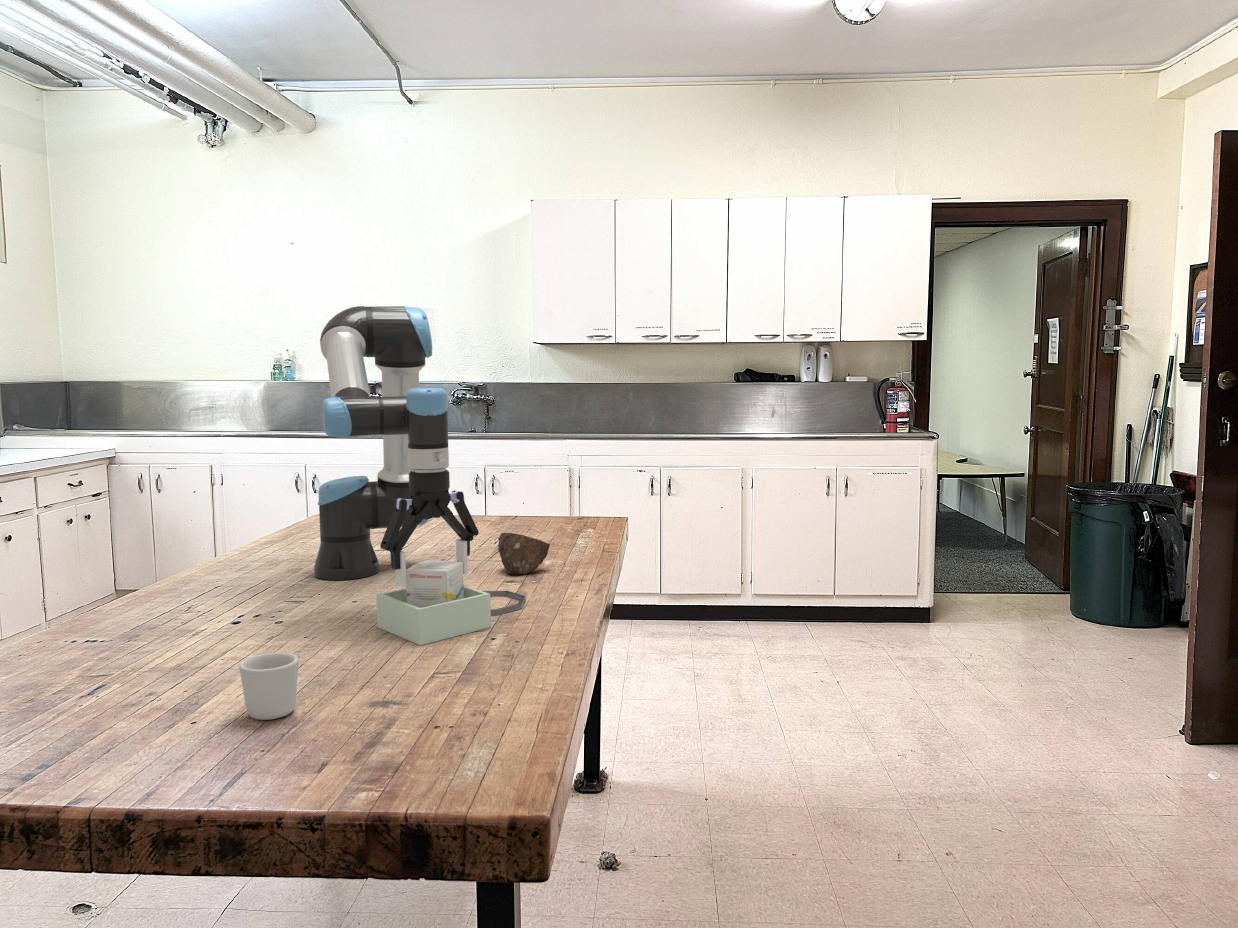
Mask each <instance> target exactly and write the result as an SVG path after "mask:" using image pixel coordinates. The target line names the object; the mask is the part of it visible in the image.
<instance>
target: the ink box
mask: <svg viewBox="0 0 1238 928" xmlns="http://www.w3.org/2000/svg"><path fill="white" fill-rule="evenodd" d="M464 586H465V584H464V574H463V562H457V561H451V560H450V561H448V560H432V559H431V560H429V559H424V560H422V561H420V562H417V563H415V564H413V565H411V566H410V567H408V568H406V587H405V588H406V593H407V603H408V604H411V605H413V606H416V607H419V608H423V607H428V606H432V605H437V604H441V603H446V602H450V601H455V600H459V599H464Z"/></svg>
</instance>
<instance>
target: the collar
mask: <svg viewBox="0 0 1238 928" xmlns="http://www.w3.org/2000/svg"><path fill="white" fill-rule="evenodd" d="M482 591H483V592H486V593H489V594H490V597H507V598H511V599H514V600H517V601H518V603H516V604H511V605H508V606H504V607H499V608H496V609H495V608H494V609H493V608H491V616H499V615H502V614H506V613H512V612H516V611H519V610H522V609H523V607H524V605H525V602H526V595H523V594H519V593H517V592H514V591H510V590H482Z"/></svg>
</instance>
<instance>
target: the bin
mask: <svg viewBox="0 0 1238 928" xmlns="http://www.w3.org/2000/svg"><path fill="white" fill-rule="evenodd" d="M483 591H484V590H480V589H475V588H473V587H471V586H466V585H464V599H459V600H455V601H450V602H446V603H441V604H437V605H432V606H428V607H423V608H419V607H416V606H413V605H411V604H408V603H407V593H406V587H403V588H400V589H395V590H390V591H384V592H380V593H376V594H375V596H376V614H377V615H376V616H377V617H376V618H377V619H376V620H377V628H379V629H380V630H384V631H385V632H388V633H390V634H393V635H395V636H397V637H399V638H401V639H404V640H407V641H408V642H409V641H410V642H411V643H413V644H416V645H419V646H422V645H427V644H432V643H435V642H439V641H443V640H446V639H451V638H453V637H454V638H455V637H458V636H462V635H465V634H466V635H467V634H470V633H474V632H478V631H481V630H482V631H483V630H486V629H489V628H492V615H491V609H492V608H491V607H492V606H491V603H492V601H491V596H490V594H489V593H486V592H483Z"/></svg>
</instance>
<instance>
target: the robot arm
mask: <svg viewBox="0 0 1238 928" xmlns="http://www.w3.org/2000/svg"><path fill="white" fill-rule="evenodd" d="M431 333H432V332H431V327H430V324H429V320H428V316H427V314H426V312H425V310H423V309H422V308H420V307H415V306H414V307H413V306H403V305H398V306H397V305H396V306H388V305H387V306H383V305H382V306H364V305H363V306H362V305H360V306H359V305H357V306H353V307H349V308H346V309H343V310H342V311H340V312H338V313H336V314H335V315H334V316H333V317H332V318H331V319H329V320H328V322H327V323H326V324H325V325H324V327H323V328H322V332H321V335H320V338H319V344H320V351H321V354H322V356H323V358H325V359H326V362H327V372H328V379H329V381H328V382H329V390H330V397H326V398H325V399H323V401H322V421H323V432H324V434H325V435H327V436H329V437H343V438H348V437H367V436H382V440H383V441H382V447H383V450H382V451H383V453H382V454H383V467H382V469H380V470H379V471H378V472H377V475H376V476H377V477H376V478H377V480H376V481H370V480H369V478H368V476H367V475H357V476H356V475H353V476H347V477H341V478H336V479H332V480H329V481H326V482H324V483H322V484H321V485H320V487H319V488H318V502H317V505H318V507H319V508H318V509H319V513H318V514H319V536H320V539H319V540H320V542H319V543H320V545H319V548H318V552H317V556H316V558H315V562H314V566H313V572H314V573H313V575H314V577H315V578H318V579H320V580H329V581H340V580H341V581H342V580H343V581H345V580H356V579H362V578H363V579H364V578H365V577H370V576H373V575H375V574H377V573H379V572H380V566H379V565H380V563H379V559H378V557H377V554H376V551H375V549H374V547H373V544H372V541H371V530H375V529H377V530H378V529H379V530H380V529H386V530H385V531H384V535H383V537H382V539H381V542H380V547H379V548H380V549H381V550H385V551H387V552H389V553H390V568H391V569H393V570H394V577H395V578H394V582H395V585H396V586H398V587H401V588H406V569H407V567H406V566H407V563H406V562H407V561H406V552H405V551H402V550H403V549H404V547H405V546H406V544H407V542H408V541H409V539H410V538H411V536H412V535H413V533H414V531H415V530H416V529H417V528H418V526H422V525H425V524H426V523H427V522H428V521H429V520H431V519H432V518H435V519H440V518H442V519H443V520H444V521H445V523H447V525H448V526H449V527H450V528H451V529H452V530H453V532H454V533H455V534H456V535H457V536H458V537H459V538H460V539H456V540H455V551H456V555H455V557H456V558H455V559H456V562H463V575H467V574H468V573H469V572H468V571H469V570H468V567H469V566H468V556H470V554H471V542H472V541H473V540H474V537H475V536H478V535H479V532H480V531H479V529H478V527H477V525H476V523H475V521H474V519H473V517H472V515H471V512H470V511H469V508H468V507H467V504H466V501H465V496H464V495H465V494H464V492H463V491H460V490H455V489H454V490H452V491H451V492H450V491H449V489H450V487H451V486H450V481H451V479H450V471H449V470H448V469H447V468H449V467H450V462H449V461H450V458H449V457H450V456H449V455H450V454H449V453H450V452H449V451H450V450H449V419H448V418H449V416H448V415H449V414H448V413H449V411H448V410H449V404H448V393H447V390H445V389H444V388H442V387H420V371H422V369H424V367H425V366H426V358H431V357H432V356H433V341H432V334H431ZM364 358H374V365H375V366H376V367H377V368H378V369H379V370H380V371H381V389H382V390H381V392H382V395H381V396H371V392H370V386H369V381H368V376H367V370H366V366H365V361H364ZM450 502H451V503H452V505H453V507H454V509H455V510H456V513H457V515H458V517H459V519H460V520H458V519H457V518H456V516H455V515H454V512H453V511H452V510H451V509H450V508H449V507H448V506H449V504H450ZM461 522H462V523H461Z"/></svg>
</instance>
